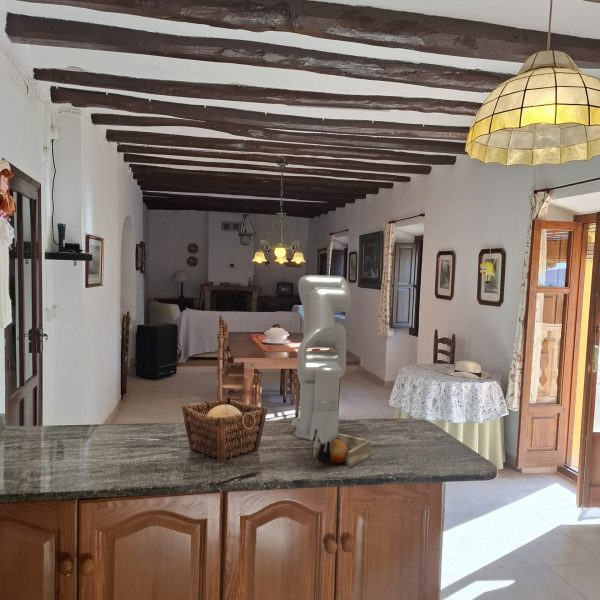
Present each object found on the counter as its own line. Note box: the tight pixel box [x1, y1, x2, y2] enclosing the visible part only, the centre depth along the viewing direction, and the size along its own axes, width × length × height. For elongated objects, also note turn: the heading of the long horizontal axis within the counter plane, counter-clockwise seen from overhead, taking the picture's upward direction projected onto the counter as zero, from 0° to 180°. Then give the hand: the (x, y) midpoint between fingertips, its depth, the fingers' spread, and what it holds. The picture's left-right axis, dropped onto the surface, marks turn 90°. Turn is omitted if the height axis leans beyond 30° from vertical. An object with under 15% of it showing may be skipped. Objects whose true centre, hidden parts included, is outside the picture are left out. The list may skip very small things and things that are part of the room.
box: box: [312, 432, 372, 469], centre depth 171 cm, size 14×14×5 cm
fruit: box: [329, 439, 348, 464], centre depth 166 cm, size 8×8×8 cm
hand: (324, 462), depth 161 cm, fingers closed
